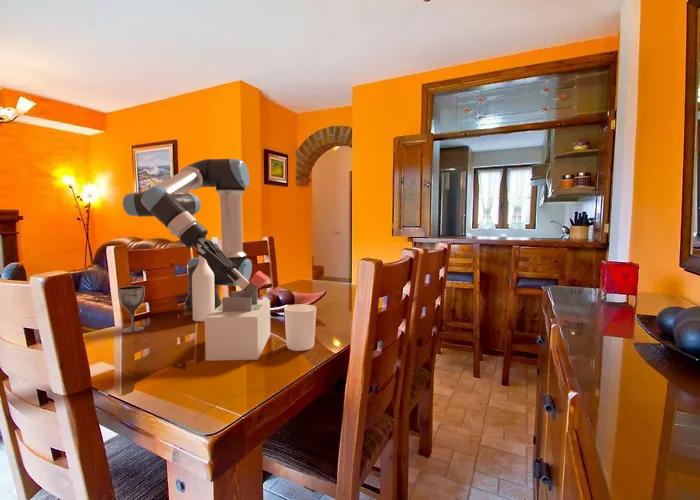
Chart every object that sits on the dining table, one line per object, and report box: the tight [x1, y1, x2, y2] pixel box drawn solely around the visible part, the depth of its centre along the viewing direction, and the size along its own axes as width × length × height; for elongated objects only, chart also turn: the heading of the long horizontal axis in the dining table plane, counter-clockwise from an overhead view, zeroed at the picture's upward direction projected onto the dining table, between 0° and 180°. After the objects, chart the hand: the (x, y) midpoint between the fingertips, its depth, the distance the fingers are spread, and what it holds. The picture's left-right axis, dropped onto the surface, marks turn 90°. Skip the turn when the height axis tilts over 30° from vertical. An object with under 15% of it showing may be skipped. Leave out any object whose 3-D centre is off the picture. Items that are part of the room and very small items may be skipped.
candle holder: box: [283, 303, 317, 352], centre depth 105 cm, size 10×10×12 cm
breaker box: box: [204, 290, 271, 362], centre depth 104 cm, size 22×14×16 cm, turn 4°
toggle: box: [241, 270, 270, 298], centre depth 104 cm, size 6×4×11 cm
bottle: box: [192, 254, 215, 322], centre depth 134 cm, size 8×8×30 cm
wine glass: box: [117, 284, 146, 334], centre depth 120 cm, size 8×8×15 cm
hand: (246, 286), depth 103 cm, fingers closed
